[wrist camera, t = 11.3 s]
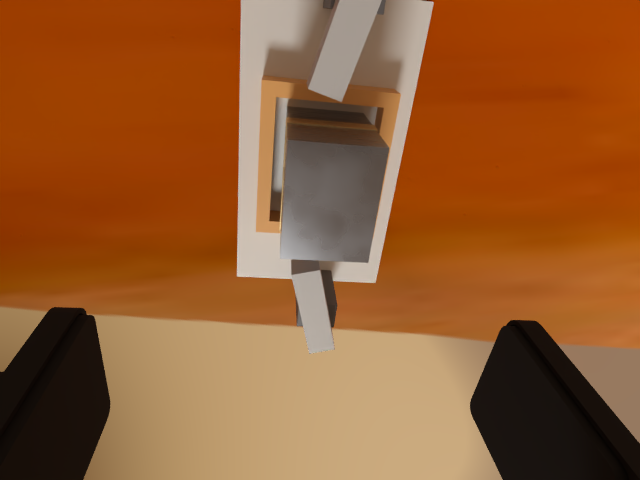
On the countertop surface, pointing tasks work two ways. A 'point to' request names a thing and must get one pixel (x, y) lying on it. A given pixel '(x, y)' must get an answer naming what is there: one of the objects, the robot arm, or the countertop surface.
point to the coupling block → (330, 185)
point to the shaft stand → (319, 93)
